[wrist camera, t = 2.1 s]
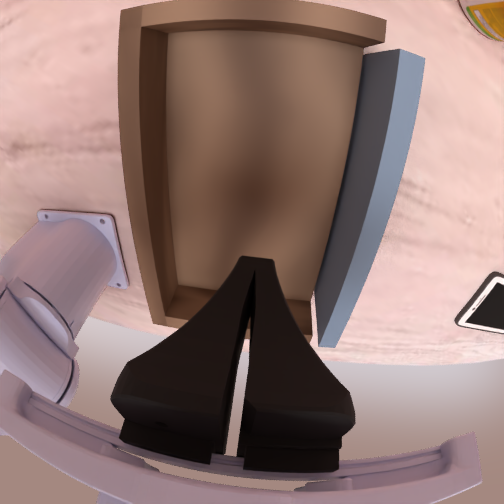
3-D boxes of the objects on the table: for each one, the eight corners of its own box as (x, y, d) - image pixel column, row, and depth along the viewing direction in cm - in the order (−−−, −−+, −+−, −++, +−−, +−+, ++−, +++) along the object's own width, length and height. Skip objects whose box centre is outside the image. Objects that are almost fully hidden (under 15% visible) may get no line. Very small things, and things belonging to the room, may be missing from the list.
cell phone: (507, 330, 26) (509, 335, 25) (450, 319, 25) (453, 325, 24) (539, 291, 22) (542, 296, 21) (490, 267, 21) (495, 273, 20)
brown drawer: (171, 281, 25) (153, 323, 21) (160, 21, 12) (120, 10, 8) (306, 298, 24) (308, 344, 20) (358, 32, 12) (386, 20, 8)
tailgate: (314, 287, 23) (318, 346, 18) (362, 55, 13) (400, 48, 8) (327, 289, 23) (334, 347, 18) (380, 60, 13) (425, 58, 8)
